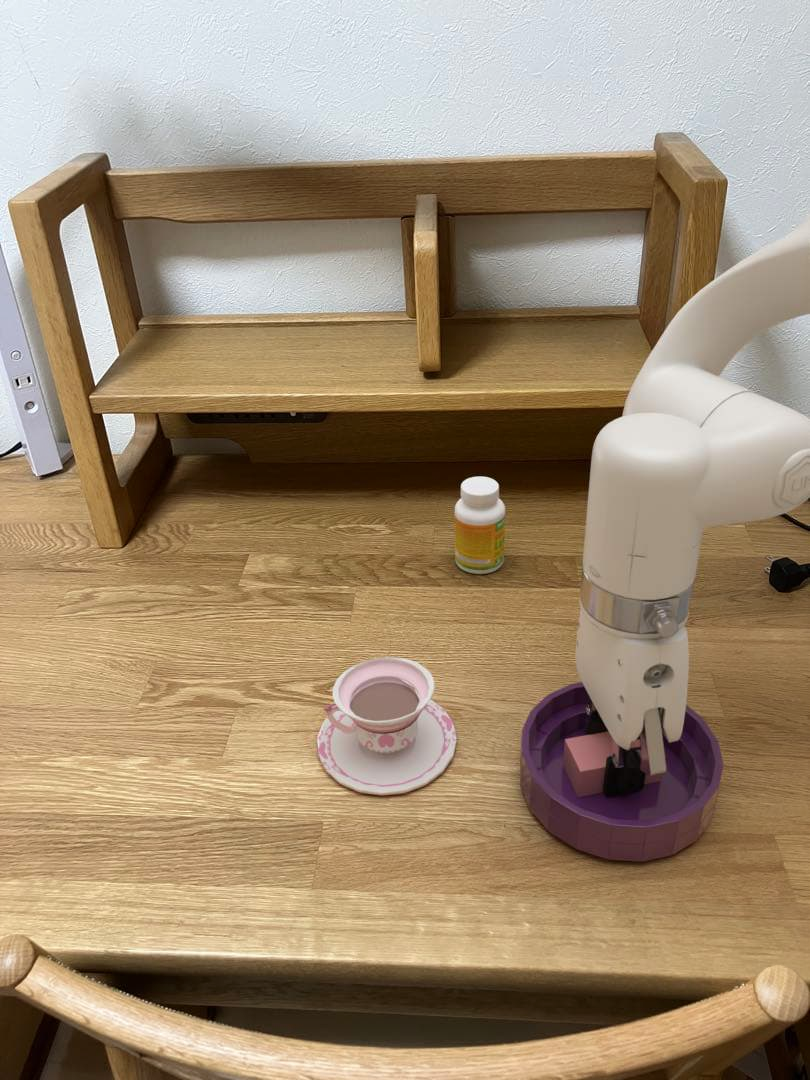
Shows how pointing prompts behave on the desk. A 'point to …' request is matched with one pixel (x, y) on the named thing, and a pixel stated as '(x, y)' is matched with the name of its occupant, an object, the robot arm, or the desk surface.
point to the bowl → (623, 820)
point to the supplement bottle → (479, 526)
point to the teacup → (385, 728)
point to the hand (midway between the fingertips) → (612, 769)
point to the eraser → (591, 762)
